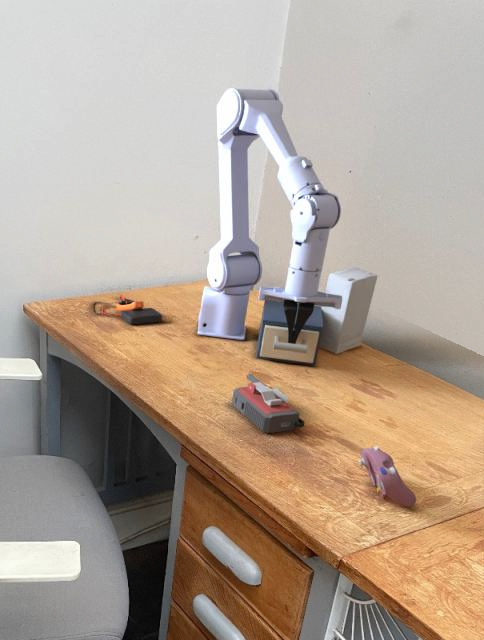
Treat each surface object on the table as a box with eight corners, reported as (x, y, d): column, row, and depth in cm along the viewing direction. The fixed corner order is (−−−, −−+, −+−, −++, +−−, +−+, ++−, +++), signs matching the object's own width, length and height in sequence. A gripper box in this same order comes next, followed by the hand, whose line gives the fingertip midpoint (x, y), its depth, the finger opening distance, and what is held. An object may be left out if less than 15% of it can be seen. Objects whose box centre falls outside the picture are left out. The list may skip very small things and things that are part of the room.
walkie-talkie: (314, 432, 124) (252, 381, 139) (320, 406, 121) (256, 358, 137) (267, 438, 121) (208, 386, 136) (272, 412, 118) (211, 362, 134)
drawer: (313, 373, 142) (320, 342, 139) (259, 365, 143) (264, 335, 140) (311, 342, 156) (317, 314, 153) (261, 335, 157) (266, 307, 154)
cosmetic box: (337, 338, 161) (353, 265, 153) (361, 347, 158) (379, 273, 150) (311, 345, 157) (327, 271, 149) (336, 355, 153) (353, 279, 145)
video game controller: (361, 481, 114) (351, 443, 111) (391, 470, 114) (382, 431, 110) (387, 519, 106) (376, 479, 102) (419, 506, 105) (410, 466, 102)
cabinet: (314, 365, 148) (323, 327, 143) (256, 358, 149) (262, 319, 145) (313, 343, 158) (321, 306, 154) (258, 336, 159) (264, 299, 155)
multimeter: (80, 299, 172) (80, 283, 170) (130, 296, 176) (131, 281, 174) (109, 327, 158) (110, 310, 156) (162, 323, 162) (164, 307, 160)
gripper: (263, 268, 134) (251, 344, 141) (349, 277, 132) (332, 354, 139) (264, 259, 140) (252, 332, 147) (346, 267, 138) (331, 342, 145)
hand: (291, 342), depth 143 cm, fingers closed, pressing on drawer
